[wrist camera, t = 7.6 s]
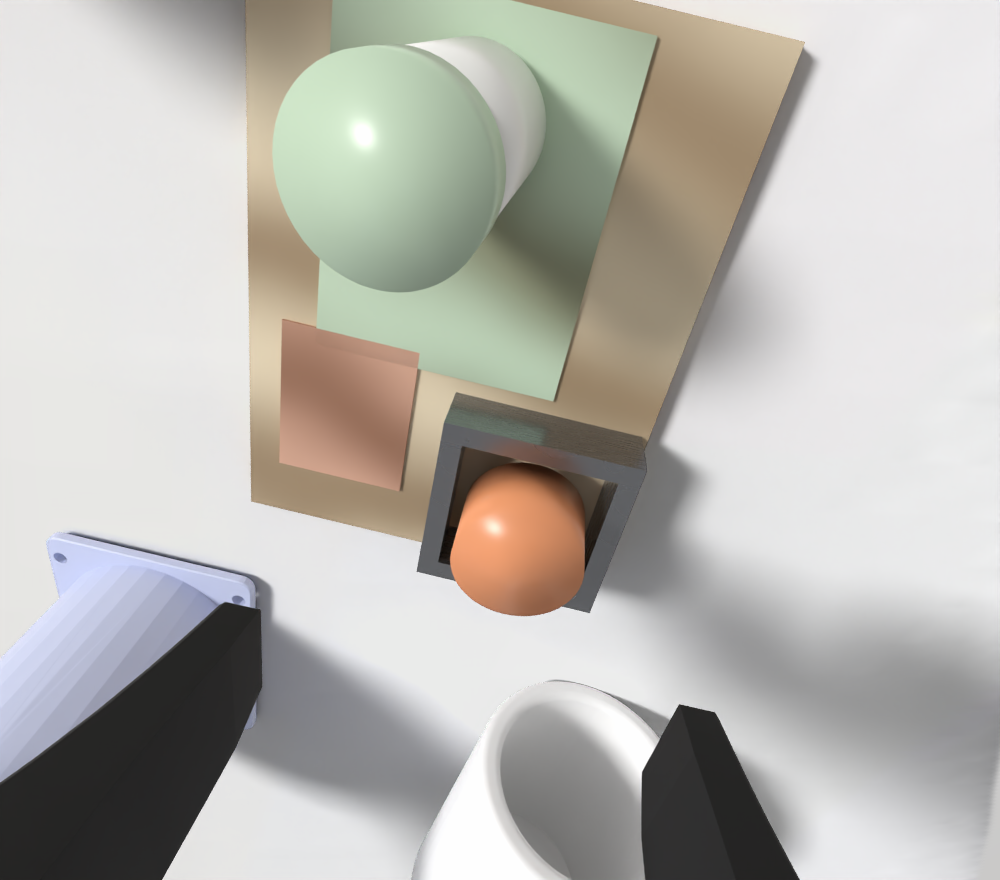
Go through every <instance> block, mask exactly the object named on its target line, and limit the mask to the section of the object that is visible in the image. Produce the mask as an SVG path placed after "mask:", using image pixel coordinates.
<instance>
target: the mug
mask: <svg viewBox="0 0 1000 880" xmlns="http://www.w3.org/2000/svg"><path fill="white" fill-rule="evenodd" d="M659 740H660V738H659V737H658V736H657V735H656V733H655V732H654V731H653V730H652V729H651V728H650V727H649V726H648V725H647V724H646V723H645V722H644V721H643V720H642V719H641V718H640V717H639V716H638V715H637V714H636V713H635V712H633V711H632V710H631V709H630V708H628V707H627V706H626V705H624V704H623V703H621V702H620V701H618V700H617V699H615V698H613V697H611V696H610V695H608V694H606V693H604V692H602V691H599V690H597V689H594V688H591V687H588V686H585V685H581V684H577V683H572V682H562V681H551V682H543V683H538V684H534V685H531V686H528V687H526V688H523V689H521V690H519V691H517V692H516V693H514V694H513V695H511V696H510V697H509V698H507V699H506V700H505V701H504V702H503V703H502V704H501V705H500V706H499V707H498V708H497V709H496V711H495V712H494V713H493V715H492V716H491V718H490V720H489V721H488V723H487V725H486V727H485V729H484V731H483V732H482V734H481V736H480V738H479V740H478V742H477V743H476V745H475V747H474V749H473V751H472V753H471V754H470V756H469V758H468V760H467V762H466V764H465V766H464V767H463V769H462V771H461V773H460V775H459V777H458V778H457V780H456V782H455V784H454V786H453V788H452V789H451V791H450V793H449V795H448V797H447V799H446V800H445V802H444V804H443V806H442V808H441V810H440V811H439V813H438V815H437V817H436V819H435V821H434V822H433V824H432V826H431V828H430V830H429V832H428V833H427V835H426V837H425V839H424V841H423V843H422V845H421V847H420V849H419V852H418V854H417V857H416V860H415V864H414V868H413V872H412V879H411V880H645V873H644V863H643V852H642V841H641V788H642V771H643V769H644V767H645V765H646V764H647V762H648V760H649V758H650V756H651V754H652V753H653V751H654V749H655V747H656V745H657V744H658V742H659Z"/></svg>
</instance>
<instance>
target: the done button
mask: <svg viewBox="0 0 1000 880" xmlns="http://www.w3.org/2000/svg"><path fill="white" fill-rule="evenodd" d="M450 565H451V570H452V573H453V576H454V578H455V580H456V582H457V584H458V585H459V586H460V588H461V589H462V590H463V591H464V592H465V593H466V594H467V595H468V596H469V597H470V598H471V599H472V600H474V601H475V602H477V603H478V604H480V605H482V606H484V607H486V608H488V609H490V610H493V611H496V612H499V613H503V614H508V615H515V616H533V615H540V614H544V613H548V612H551V611H553V610H556V609H558V608H560V607H561V606H563V605H565V604H566V603H567V602H569V601H570V600H571V599H572V598H573V597H574V596H575V595H576V593H577V592H578V590H579V589H580V587H581V585H582V582H583V578H584V567H585V508H584V503H583V500H582V498H581V495H580V494H579V492H578V490H577V489H576V488H575V486H574V485H573V484H572V483H571V482H570V481H569V480H568V479H567V478H565V477H564V476H563V475H561V474H560V473H558V472H556V471H555V470H552V469H550V468H548V467H545V466H542V465H538V464H533V463H523V462H520V463H509V464H504V465H500V466H497V467H495V468H492V469H490V470H489V471H487V472H485V473H484V474H482V475H481V476H480V477H479V478H478V479H477V480H476V481H475V482H474V483H473V485H472V486H471V488H470V490H469V492H468V494H467V497H466V501H465V504H464V508H463V511H462V515H461V518H460V522H459V526H458V529H457V533H456V536H455V540H454V543H453V547H452V551H451V556H450Z"/></svg>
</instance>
